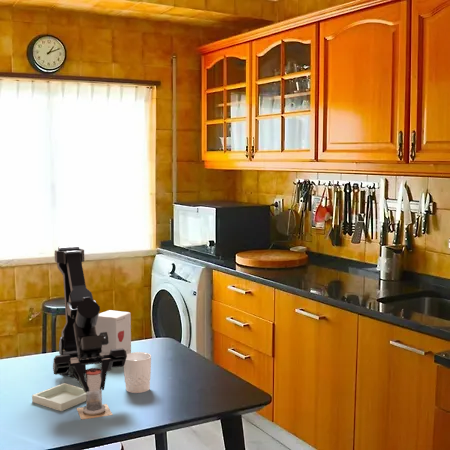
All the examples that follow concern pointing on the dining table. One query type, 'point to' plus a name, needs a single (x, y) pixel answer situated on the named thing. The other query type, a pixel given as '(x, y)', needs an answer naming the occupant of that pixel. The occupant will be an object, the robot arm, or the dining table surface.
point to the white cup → (137, 372)
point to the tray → (60, 397)
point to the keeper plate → (106, 413)
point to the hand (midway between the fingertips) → (94, 390)
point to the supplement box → (115, 330)
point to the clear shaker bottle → (93, 393)
